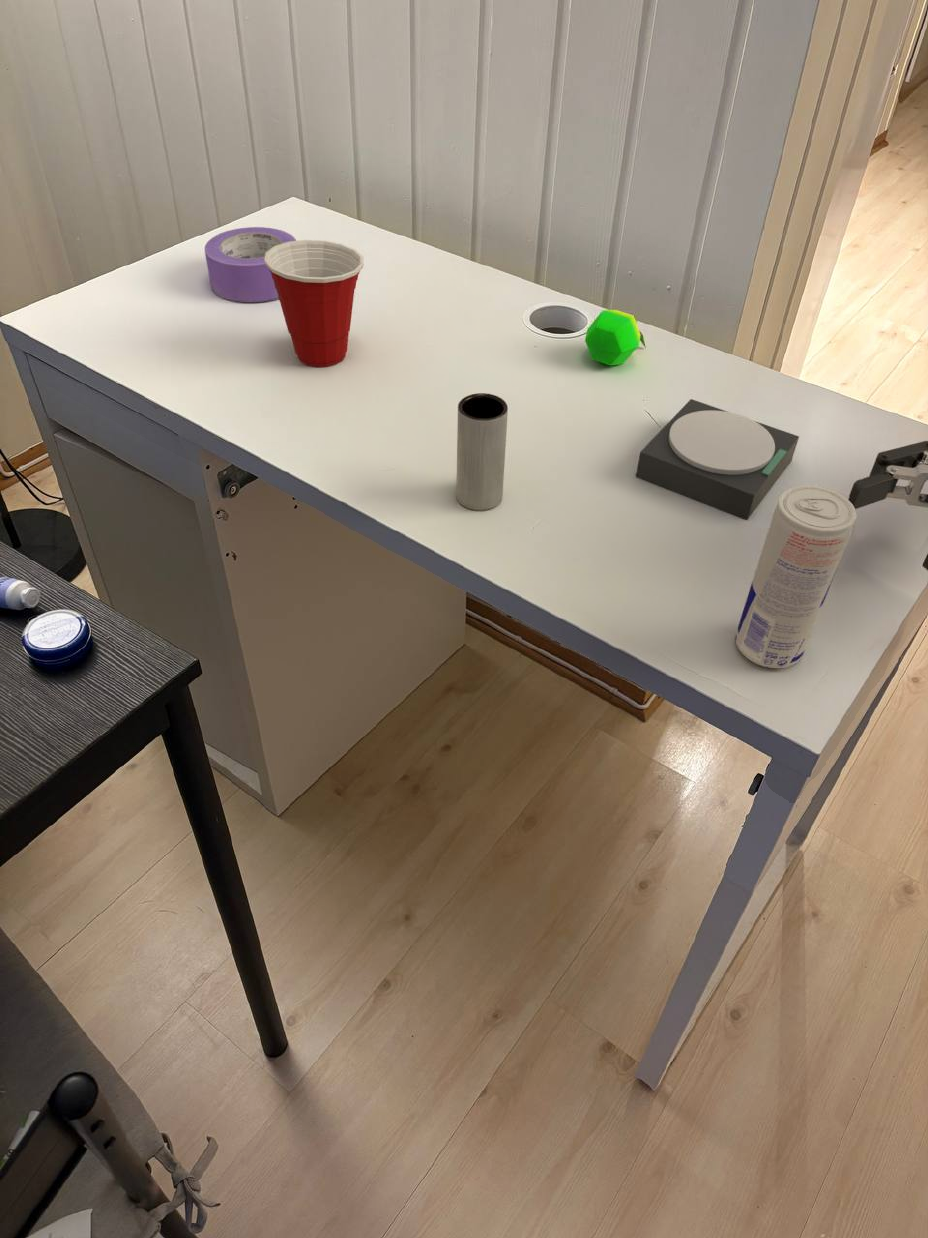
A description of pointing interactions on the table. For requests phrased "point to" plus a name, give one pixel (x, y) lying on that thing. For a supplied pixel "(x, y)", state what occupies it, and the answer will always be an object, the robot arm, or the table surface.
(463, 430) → the grey cylindrical tube
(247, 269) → the tape roll
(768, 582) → the beverage can
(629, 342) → the apple
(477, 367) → the table surface
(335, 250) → the plastic cup
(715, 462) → the scale
